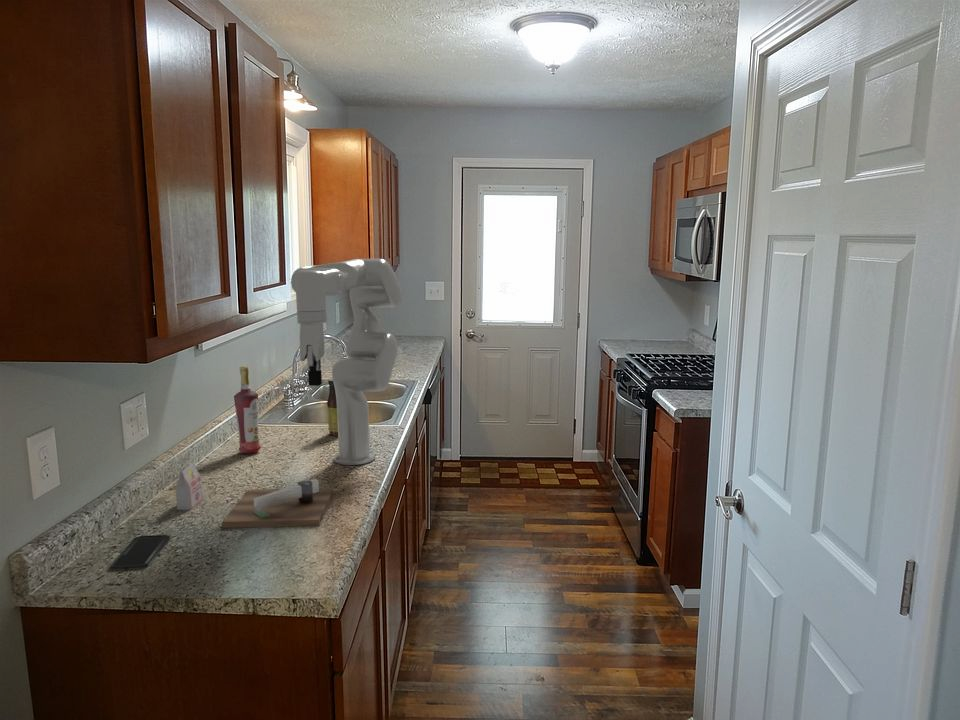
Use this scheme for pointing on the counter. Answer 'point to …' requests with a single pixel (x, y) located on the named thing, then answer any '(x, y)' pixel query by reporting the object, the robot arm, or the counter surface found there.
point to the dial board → (278, 511)
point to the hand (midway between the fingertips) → (315, 384)
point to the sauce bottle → (332, 409)
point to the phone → (140, 552)
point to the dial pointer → (287, 495)
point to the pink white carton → (189, 489)
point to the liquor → (247, 415)
